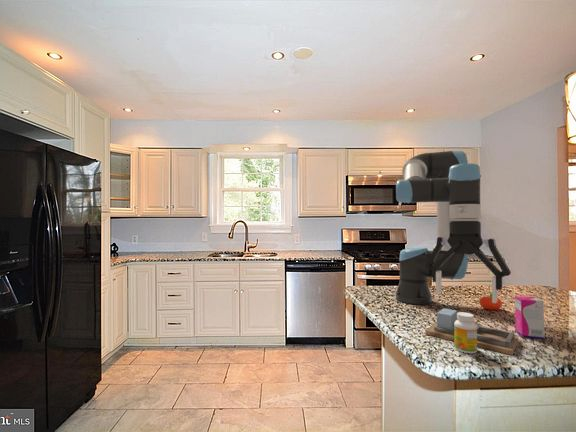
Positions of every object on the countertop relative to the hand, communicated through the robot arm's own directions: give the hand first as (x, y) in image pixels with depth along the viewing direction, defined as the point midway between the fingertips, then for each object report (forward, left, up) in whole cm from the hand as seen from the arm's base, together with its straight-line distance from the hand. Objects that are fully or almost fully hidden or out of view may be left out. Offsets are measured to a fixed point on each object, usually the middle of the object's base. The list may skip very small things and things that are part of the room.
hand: (465, 297), depth 84 cm
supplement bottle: (0, 0, -15) cm, 15 cm away
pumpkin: (-2, +51, -15) cm, 53 cm away
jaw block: (-8, +11, -13) cm, 19 cm away
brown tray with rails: (-1, +11, -14) cm, 18 cm away
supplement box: (+12, +26, -15) cm, 32 cm away
